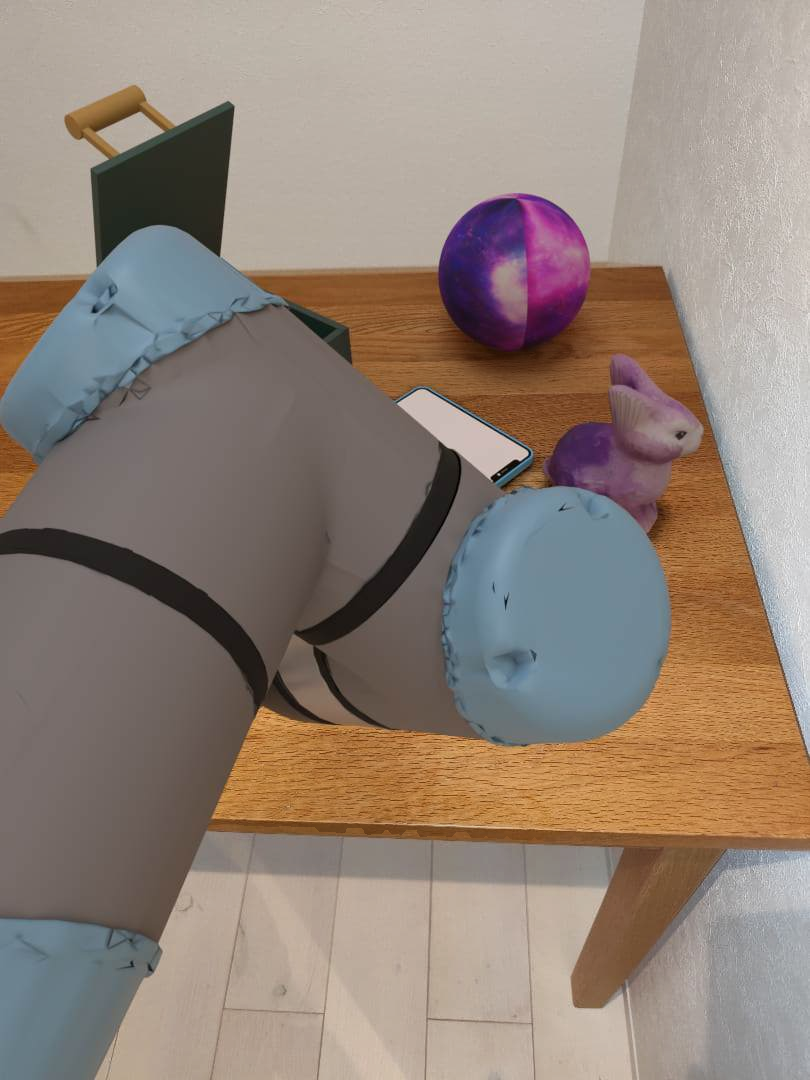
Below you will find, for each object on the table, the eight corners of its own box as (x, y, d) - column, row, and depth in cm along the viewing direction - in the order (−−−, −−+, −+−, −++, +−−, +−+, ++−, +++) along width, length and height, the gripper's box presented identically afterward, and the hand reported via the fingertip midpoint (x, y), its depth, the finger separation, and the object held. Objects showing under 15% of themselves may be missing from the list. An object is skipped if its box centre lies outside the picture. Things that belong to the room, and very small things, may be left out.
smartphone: (421, 383, 88) (538, 452, 80) (422, 393, 89) (537, 462, 81) (365, 419, 85) (481, 495, 77) (366, 429, 86) (480, 504, 78)
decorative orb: (559, 289, 100) (573, 157, 89) (599, 371, 90) (621, 234, 79) (427, 305, 99) (424, 174, 87) (453, 390, 89) (455, 253, 78)
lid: (235, 105, 75) (164, 48, 76) (97, 174, 67) (21, 110, 68) (219, 266, 90) (161, 217, 92) (106, 336, 83) (44, 282, 84)
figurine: (686, 530, 75) (728, 390, 64) (571, 553, 74) (593, 414, 63) (642, 456, 81) (674, 316, 70) (535, 476, 80) (550, 337, 69)
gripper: (172, 931, 33) (66, 842, 51) (563, 537, 45) (365, 579, 63) (41, 777, 31) (-21, 742, 49) (482, 412, 43) (303, 492, 61)
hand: (195, 650), depth 56 cm, fingers open, 13 cm apart
